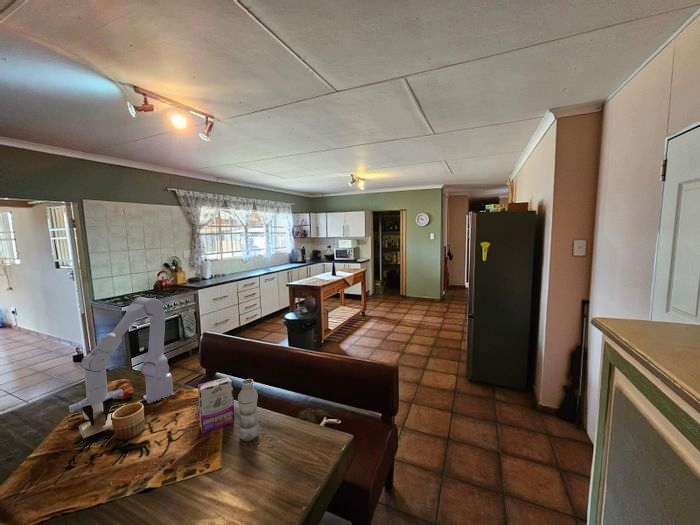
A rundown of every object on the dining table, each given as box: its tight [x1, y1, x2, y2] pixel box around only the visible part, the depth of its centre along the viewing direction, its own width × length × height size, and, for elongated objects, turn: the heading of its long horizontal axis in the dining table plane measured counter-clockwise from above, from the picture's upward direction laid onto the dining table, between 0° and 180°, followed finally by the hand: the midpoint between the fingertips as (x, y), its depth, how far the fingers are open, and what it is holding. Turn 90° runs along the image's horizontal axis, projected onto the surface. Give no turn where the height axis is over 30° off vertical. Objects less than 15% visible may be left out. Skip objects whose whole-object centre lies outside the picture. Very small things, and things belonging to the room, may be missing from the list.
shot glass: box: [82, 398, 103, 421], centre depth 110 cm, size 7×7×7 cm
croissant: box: [107, 378, 135, 400], centre depth 125 cm, size 21×10×8 cm, turn 69°
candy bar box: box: [197, 375, 235, 435], centre depth 104 cm, size 11×5×16 cm, turn 126°
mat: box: [77, 425, 112, 439], centre depth 104 cm, size 10×10×1 cm
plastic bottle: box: [237, 378, 260, 442], centre depth 98 cm, size 6×7×20 cm
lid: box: [79, 410, 113, 438], centre depth 104 cm, size 9×9×4 cm
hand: (99, 421), depth 104 cm, fingers closed on lid, 3 cm apart
